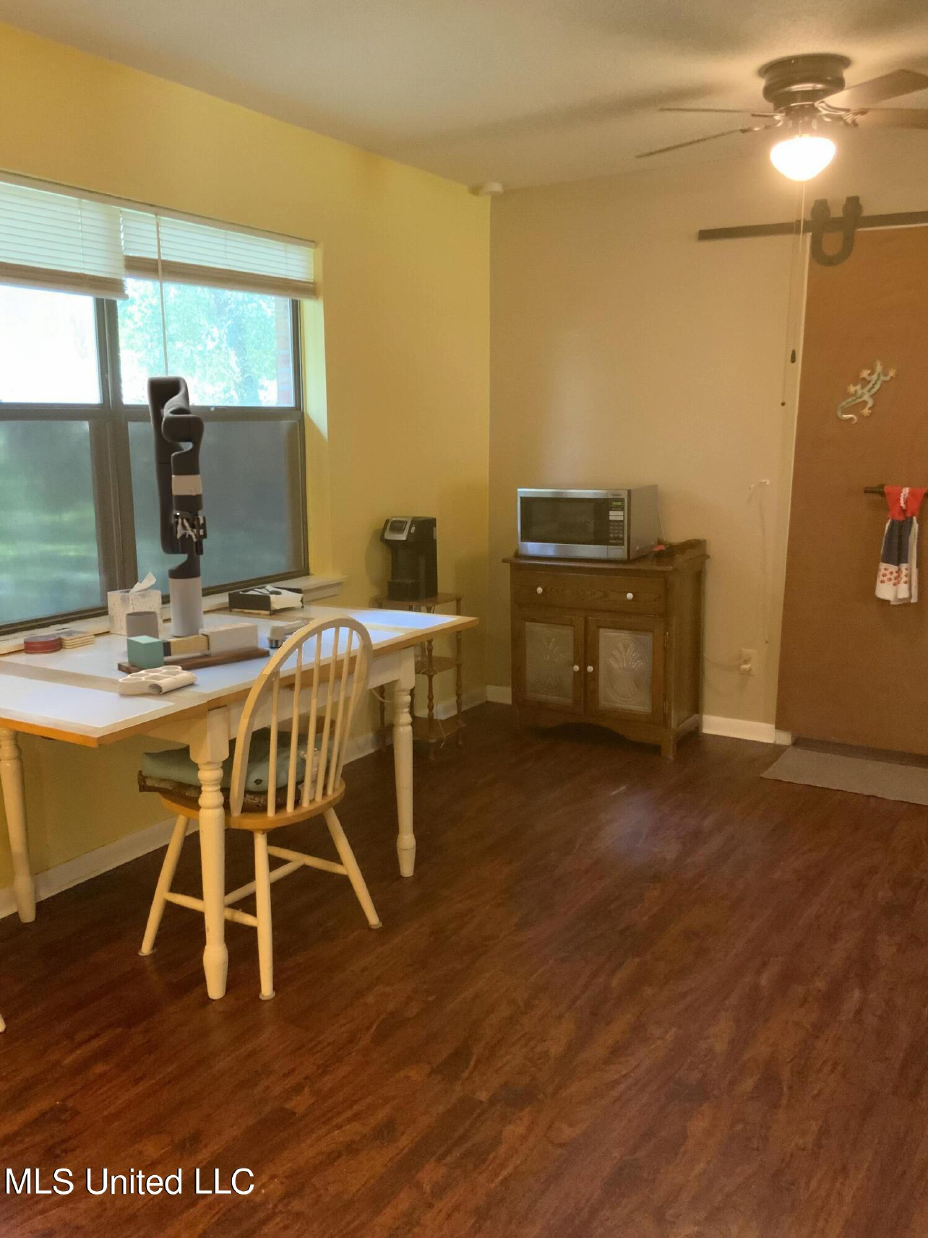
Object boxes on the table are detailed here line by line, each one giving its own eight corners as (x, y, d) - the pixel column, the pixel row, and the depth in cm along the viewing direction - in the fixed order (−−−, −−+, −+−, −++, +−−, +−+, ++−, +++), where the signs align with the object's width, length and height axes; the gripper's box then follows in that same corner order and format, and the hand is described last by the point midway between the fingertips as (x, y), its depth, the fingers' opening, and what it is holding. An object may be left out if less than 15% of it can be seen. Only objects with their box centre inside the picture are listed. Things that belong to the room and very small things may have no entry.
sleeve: (200, 653, 273) (198, 629, 272) (247, 645, 282) (246, 622, 281) (211, 656, 268) (209, 631, 267) (258, 648, 277) (257, 624, 276)
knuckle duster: (153, 700, 232) (105, 693, 239) (206, 682, 248) (159, 677, 254) (152, 685, 231) (104, 679, 238) (205, 668, 247) (159, 663, 254)
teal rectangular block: (128, 663, 262) (126, 638, 261) (147, 660, 265) (145, 635, 264) (145, 669, 254) (143, 643, 253) (164, 666, 258) (162, 640, 257)
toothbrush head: (312, 619, 308) (281, 622, 284) (312, 641, 308) (281, 647, 284) (295, 619, 309) (263, 622, 285) (295, 641, 309) (263, 646, 285)
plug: (138, 657, 260) (137, 643, 260) (217, 645, 275) (216, 631, 274) (145, 660, 257) (144, 645, 257) (224, 647, 272) (223, 633, 271)
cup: (154, 651, 283) (151, 615, 282) (124, 652, 283) (121, 616, 282) (162, 645, 292) (160, 610, 290) (133, 646, 292) (131, 611, 290)
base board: (117, 668, 262) (117, 663, 262) (243, 648, 286) (243, 642, 285) (141, 677, 252) (141, 671, 252) (269, 655, 275) (269, 650, 275)
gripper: (161, 492, 273) (166, 552, 276) (186, 494, 262) (190, 557, 265) (188, 490, 278) (192, 550, 281) (213, 492, 267) (217, 554, 270)
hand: (191, 553), depth 273 cm, fingers open, 8 cm apart
